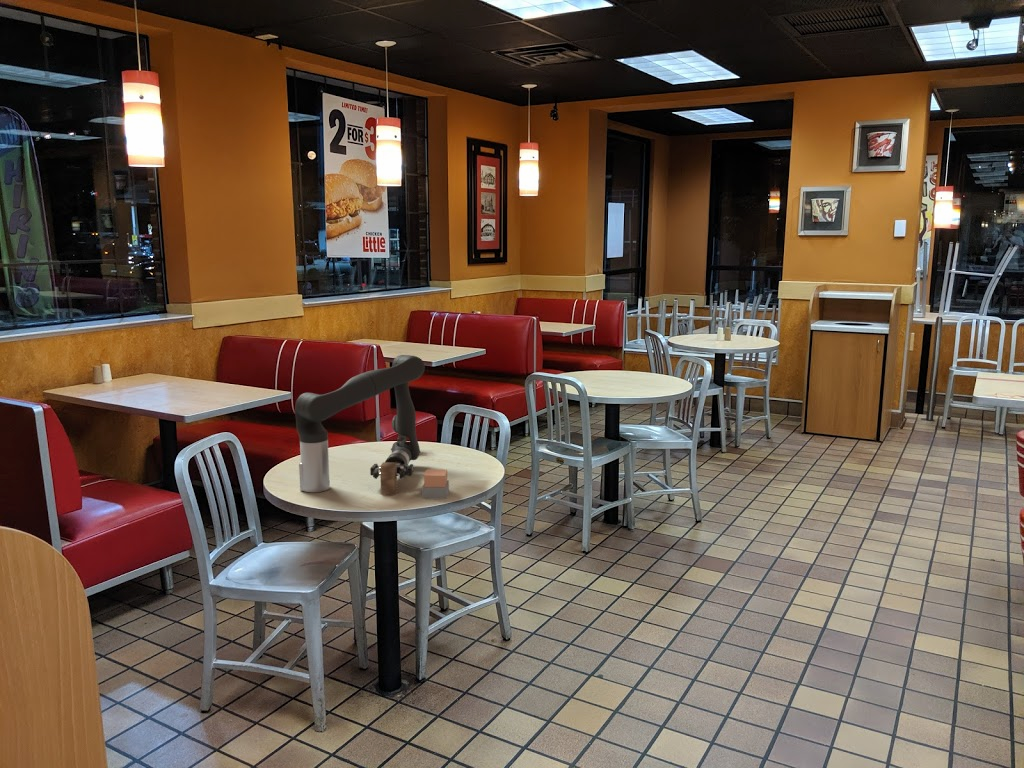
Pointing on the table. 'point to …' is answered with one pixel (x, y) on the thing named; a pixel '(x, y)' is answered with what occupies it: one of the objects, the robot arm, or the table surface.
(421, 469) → the table surface
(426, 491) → the tower base
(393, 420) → the grey round-topped stand
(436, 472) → the tower top
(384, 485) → the walnut block
